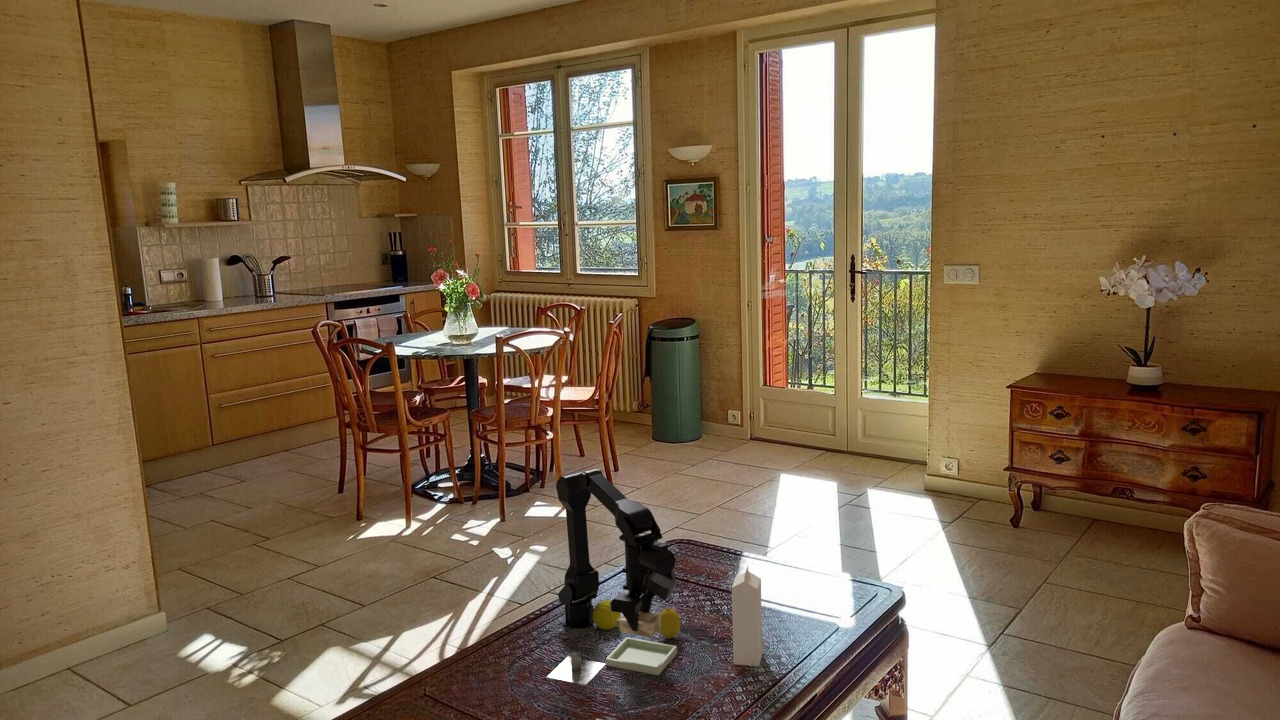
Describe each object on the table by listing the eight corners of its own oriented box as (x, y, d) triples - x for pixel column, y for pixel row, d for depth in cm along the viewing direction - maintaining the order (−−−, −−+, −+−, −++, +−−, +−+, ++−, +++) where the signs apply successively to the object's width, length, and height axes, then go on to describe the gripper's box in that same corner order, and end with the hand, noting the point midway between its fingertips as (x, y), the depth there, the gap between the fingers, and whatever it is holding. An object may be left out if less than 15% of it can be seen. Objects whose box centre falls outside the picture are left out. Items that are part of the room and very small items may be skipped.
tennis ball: (616, 635, 225) (614, 609, 223) (589, 632, 227) (588, 606, 225) (624, 623, 231) (623, 597, 230) (598, 620, 233) (597, 594, 232)
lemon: (678, 644, 219) (677, 613, 217) (656, 643, 220) (655, 612, 218) (682, 634, 224) (681, 603, 223) (660, 632, 225) (659, 602, 224)
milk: (733, 664, 209) (730, 574, 205) (737, 651, 214) (734, 564, 210) (759, 666, 207) (757, 576, 203) (762, 653, 213) (760, 565, 209)
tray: (606, 666, 210) (605, 658, 209) (626, 644, 220) (626, 637, 219) (658, 677, 204) (658, 668, 204) (677, 653, 214) (676, 646, 214)
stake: (546, 678, 206) (545, 659, 205) (567, 657, 214) (566, 639, 214) (585, 686, 201) (584, 667, 201) (605, 665, 210) (604, 646, 210)
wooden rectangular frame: (661, 626, 212) (660, 614, 211) (651, 637, 207) (651, 625, 206) (623, 620, 216) (622, 608, 215) (612, 630, 211) (612, 618, 210)
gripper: (653, 583, 196) (656, 649, 199) (685, 551, 213) (687, 613, 216) (607, 576, 201) (610, 641, 203) (642, 545, 217) (644, 606, 220)
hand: (640, 625), depth 211 cm, fingers closed on wooden rectangular frame, 6 cm apart
